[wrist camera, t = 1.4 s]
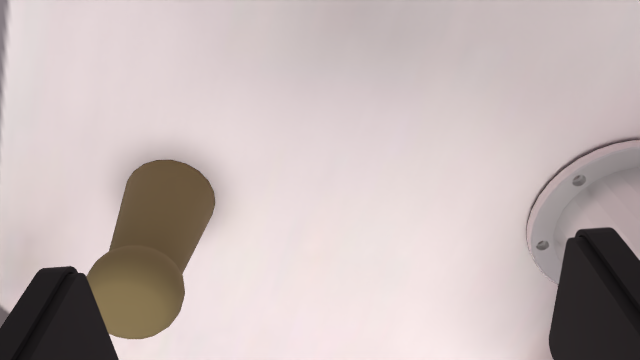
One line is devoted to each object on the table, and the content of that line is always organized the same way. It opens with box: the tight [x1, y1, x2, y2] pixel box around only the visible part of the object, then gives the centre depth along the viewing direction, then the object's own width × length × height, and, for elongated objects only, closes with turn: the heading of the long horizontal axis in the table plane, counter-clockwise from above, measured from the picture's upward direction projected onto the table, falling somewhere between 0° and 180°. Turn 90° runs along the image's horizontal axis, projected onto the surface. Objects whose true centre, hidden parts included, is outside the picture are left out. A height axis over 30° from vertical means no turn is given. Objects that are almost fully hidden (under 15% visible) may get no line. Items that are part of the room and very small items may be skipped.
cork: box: [87, 160, 215, 339], centre depth 33 cm, size 6×6×11 cm
